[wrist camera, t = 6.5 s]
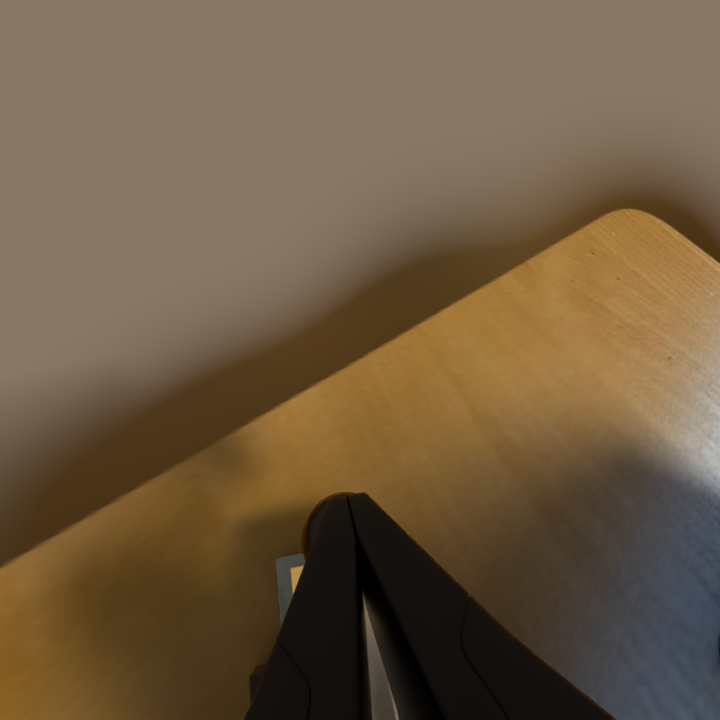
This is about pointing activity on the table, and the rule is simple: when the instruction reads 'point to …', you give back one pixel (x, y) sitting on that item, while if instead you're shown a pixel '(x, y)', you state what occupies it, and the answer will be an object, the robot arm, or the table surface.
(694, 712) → the table surface
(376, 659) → the lever handle
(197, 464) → the table surface
